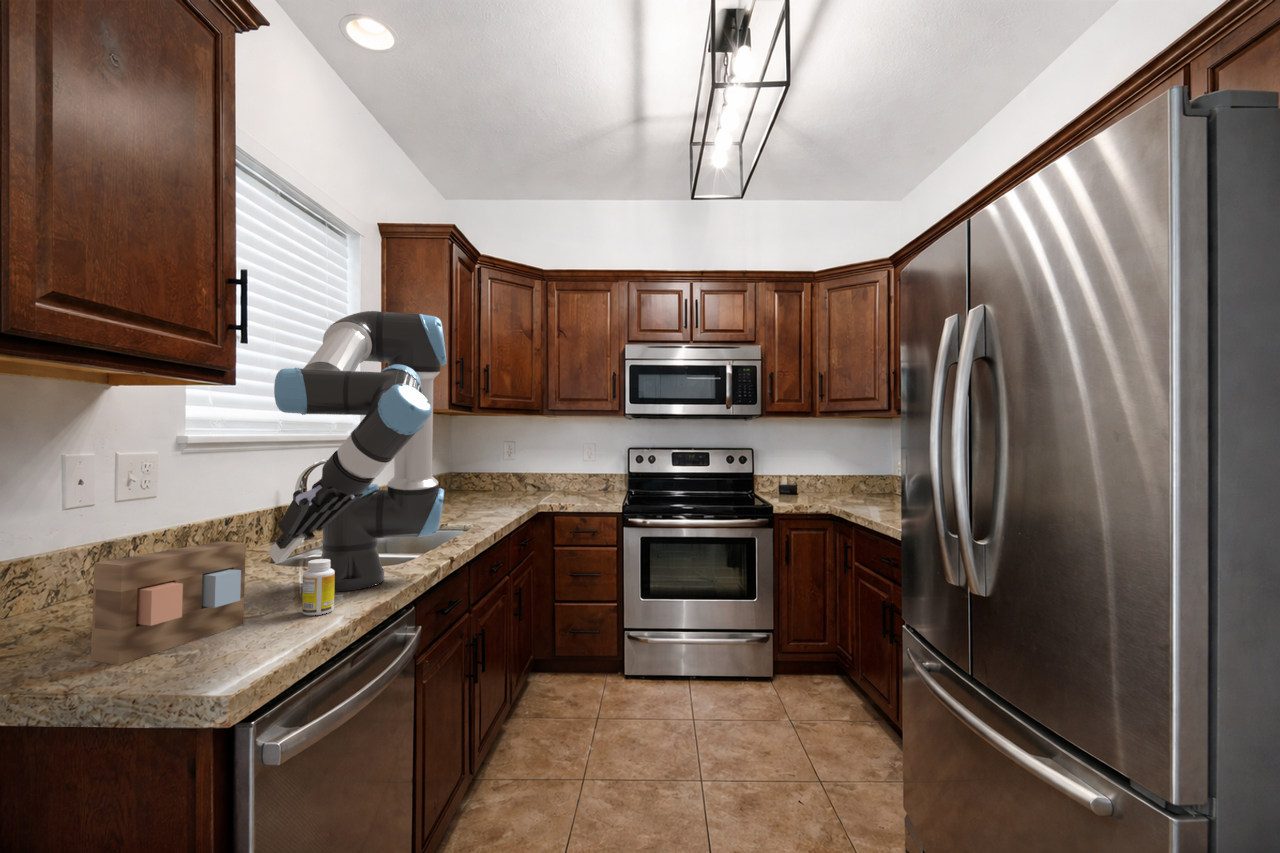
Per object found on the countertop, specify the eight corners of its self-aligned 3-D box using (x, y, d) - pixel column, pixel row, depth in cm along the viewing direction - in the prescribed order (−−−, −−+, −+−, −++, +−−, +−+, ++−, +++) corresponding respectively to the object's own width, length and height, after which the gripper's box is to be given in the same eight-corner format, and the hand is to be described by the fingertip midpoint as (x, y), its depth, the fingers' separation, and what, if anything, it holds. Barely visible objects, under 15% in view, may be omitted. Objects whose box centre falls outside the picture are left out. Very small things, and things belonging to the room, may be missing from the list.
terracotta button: (150, 612, 94) (151, 580, 94) (181, 617, 92) (182, 583, 92) (118, 621, 90) (119, 587, 90) (150, 625, 88) (151, 590, 88)
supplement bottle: (334, 606, 116) (335, 556, 117) (333, 614, 111) (334, 562, 112) (303, 610, 114) (304, 559, 114) (300, 618, 109) (301, 564, 109)
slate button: (210, 597, 104) (211, 567, 104) (240, 600, 102) (241, 570, 102) (184, 604, 99) (185, 573, 99) (214, 607, 97) (215, 576, 98)
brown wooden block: (218, 621, 107) (221, 541, 107) (243, 624, 105) (245, 543, 105) (91, 660, 87) (94, 562, 88) (118, 665, 86) (122, 565, 86)
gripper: (372, 445, 100) (296, 533, 105) (311, 448, 87) (227, 547, 92) (397, 477, 99) (318, 564, 103) (338, 483, 86) (251, 583, 91)
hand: (275, 556), depth 98 cm, fingers closed
